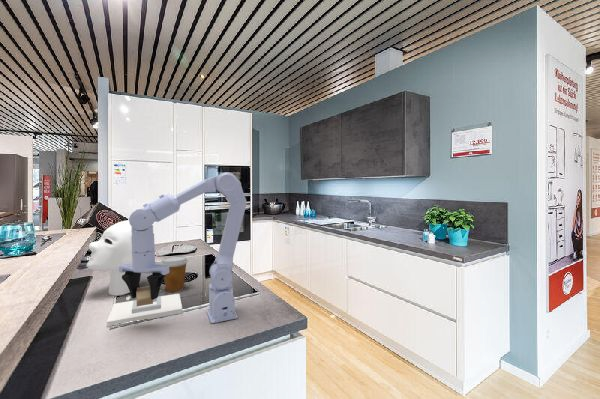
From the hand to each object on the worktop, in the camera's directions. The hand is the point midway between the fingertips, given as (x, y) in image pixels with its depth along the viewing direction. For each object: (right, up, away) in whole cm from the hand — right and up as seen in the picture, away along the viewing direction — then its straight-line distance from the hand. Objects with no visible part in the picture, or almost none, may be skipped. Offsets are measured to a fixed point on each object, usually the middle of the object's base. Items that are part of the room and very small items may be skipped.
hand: (145, 297), depth 83 cm
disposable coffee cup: (-4, -7, +30) cm, 31 cm away
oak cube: (0, -1, 0) cm, 1 cm away
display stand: (-5, -8, +10) cm, 14 cm away
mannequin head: (-23, -7, +28) cm, 37 cm away
